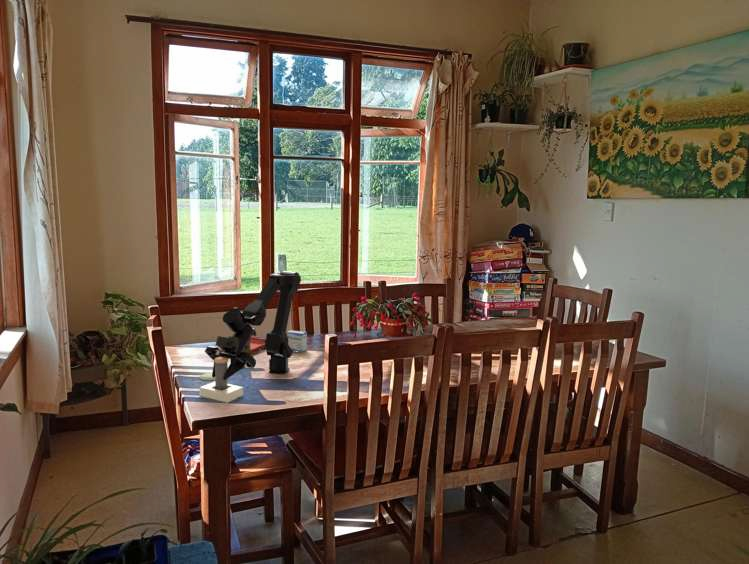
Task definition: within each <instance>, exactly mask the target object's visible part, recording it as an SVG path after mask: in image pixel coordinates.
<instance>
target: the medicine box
mask: <svg viewBox="0 0 749 564" xmlns="http://www.w3.org/2000/svg"><path fill="white" fill-rule="evenodd" d="M286 333H287V336H288V339H289V340H288V345H289V347H290V348H291V349H292V350H293V351H298V352H297V353H299V352H303V351H305V350H306V351H307V346H308V345H307V341H308V340H307V339H308V331H302V330H301V331H300V330H288V331H286ZM306 351H305V352H306ZM303 353H304V352H303Z"/></svg>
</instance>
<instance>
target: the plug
mask: <svg viewBox="0 0 749 564" xmlns="http://www.w3.org/2000/svg"><path fill="white" fill-rule="evenodd" d="M228 363H229V359H228V358H227V357H217V358H215V380H214V382H215V389H217V390H221V391H222V390H225V389H227V388H228V387H227V384H228V379H226V380H224V379H223V378H224V375H225V373H226V371H227V369H228Z"/></svg>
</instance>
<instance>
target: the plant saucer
mask: <svg viewBox="0 0 749 564" xmlns="http://www.w3.org/2000/svg"><path fill="white" fill-rule="evenodd" d="M265 341H266V338H262V337H256V336H251V338H250V354H251V355H252V354H254V353H255V352H258V351H261V350H263V349H266V348H265ZM216 347H218V348H219V349H220V350H221V351H223V350H222V349H221V346H219V345H216ZM262 348H263V349H262ZM260 349H261V350H260Z"/></svg>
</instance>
